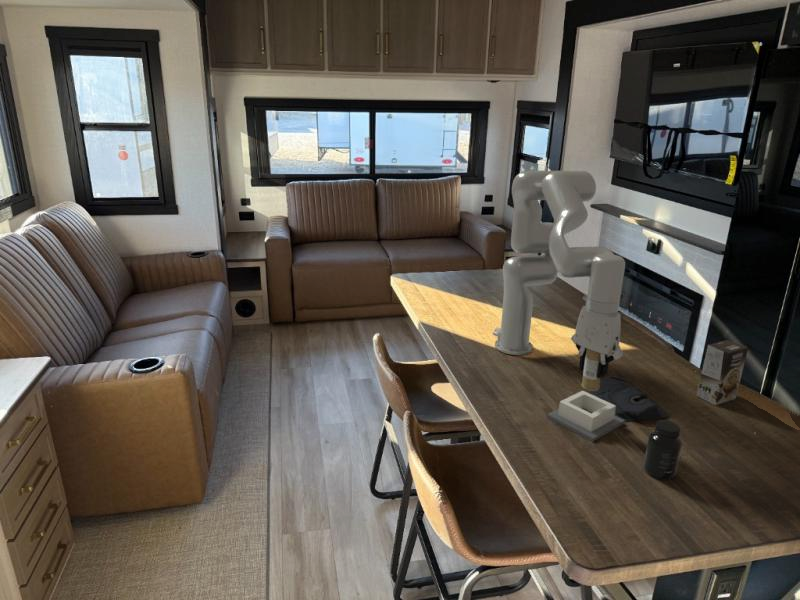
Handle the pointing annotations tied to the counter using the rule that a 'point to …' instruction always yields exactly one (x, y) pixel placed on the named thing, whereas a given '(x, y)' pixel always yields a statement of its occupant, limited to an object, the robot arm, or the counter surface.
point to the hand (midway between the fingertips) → (592, 372)
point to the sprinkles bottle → (591, 371)
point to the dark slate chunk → (628, 400)
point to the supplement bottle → (663, 450)
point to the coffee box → (722, 372)
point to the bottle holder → (586, 415)
